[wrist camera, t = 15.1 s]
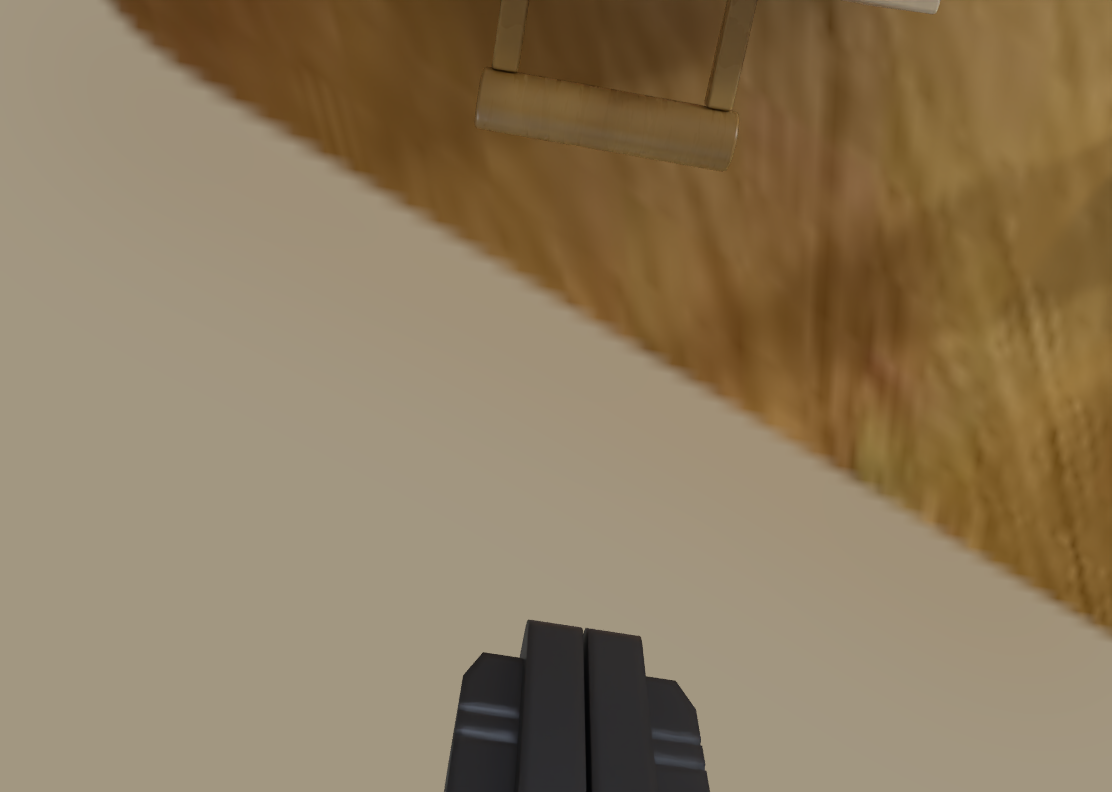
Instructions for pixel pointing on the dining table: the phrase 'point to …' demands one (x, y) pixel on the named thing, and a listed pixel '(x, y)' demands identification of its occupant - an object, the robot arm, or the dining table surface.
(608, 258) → the dining table surface
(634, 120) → the drawer
